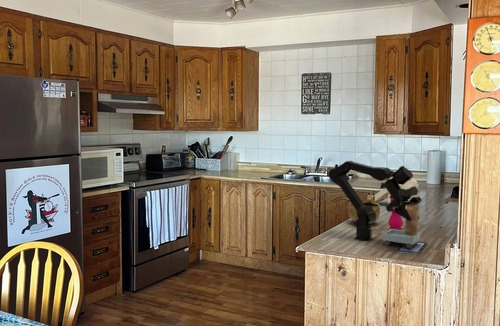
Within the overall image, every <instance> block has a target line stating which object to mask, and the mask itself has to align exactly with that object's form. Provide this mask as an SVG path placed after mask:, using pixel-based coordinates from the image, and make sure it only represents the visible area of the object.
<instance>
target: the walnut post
mask: <svg viewBox="0 0 500 326" xmlns="http://www.w3.org/2000/svg"><path fill="white" fill-rule="evenodd" d="M419 209H420V205H419V204H418V205H416V204H407V212H408V214H409V216H410V218H411V221H408V220H407V219H405V227H404V228H405V229H404V231H405V234H406V235H412V236H415V235H417V233H418V225H419V223H418V222H419V221H418V220H419V219H418V216H419V211H420V210H419Z"/></svg>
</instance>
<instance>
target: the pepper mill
mask: <svg viewBox="0 0 500 326" xmlns="http://www.w3.org/2000/svg"><path fill="white" fill-rule="evenodd" d="M392 200H393V198H392V199H390V202H391V201H392ZM393 211H395V208H393ZM393 211H392V212H391V213H390V214H391V215H389V219H388V221H387V223H388V224H387V225H389V227H388V230H390V229H395V230H402V229H403V228H402V227H403V226H404V221H403V217H402V216H400V215H398V214H397V213H394V212H393ZM402 231H403V230H402Z"/></svg>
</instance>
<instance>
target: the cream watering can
mask: <svg viewBox="0 0 500 326" xmlns="http://www.w3.org/2000/svg"><path fill="white" fill-rule="evenodd" d="M392 178H393V177H391V178H390V179H392ZM399 186H400V187H401V189H405V190H406V189H410V187H413V186H415V187H416V188H417V189H418V190H419V186H420V184H419V183H418V180H416V178H414V177H412V178H411V179H410V180H409V181H407V182H406V183H405V184H404V185H401V184H399ZM417 194H418V195H413V196H411V198H412V197H419V192H418V193H417ZM374 196H375V201H374V203H376V202H379V201H380V200H381V199H383V198H385V197H386V196H387V197H388V200H387V205H388V204H389V203H390V196H391V195H390V194H389V192H388V191H387V189H386V188H385V189H381V190H380V191H378V192H377V193H376V194H374ZM411 198H410V199H411ZM410 199H409V200H410ZM406 210H407V206H406Z"/></svg>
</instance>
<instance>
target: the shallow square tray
mask: <svg viewBox="0 0 500 326" xmlns="http://www.w3.org/2000/svg"><path fill="white" fill-rule="evenodd" d="M421 234H422V233H421V232H417V235H415V236H412V235H406V234H405V230H395V229H390V230H389V229H388V230H387V231H385V232H384V233H382V235H381V240H382V241H384V242H383V244H384V246H387V247H388V246H389V245H390V244H391V242H393V243H394V242H395V243H400V244H405V245H406V246H405V247H406V249H407V248H408V250H411V249H412V248H413V245H417V244H418V243H419V241H420V240H421Z"/></svg>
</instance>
